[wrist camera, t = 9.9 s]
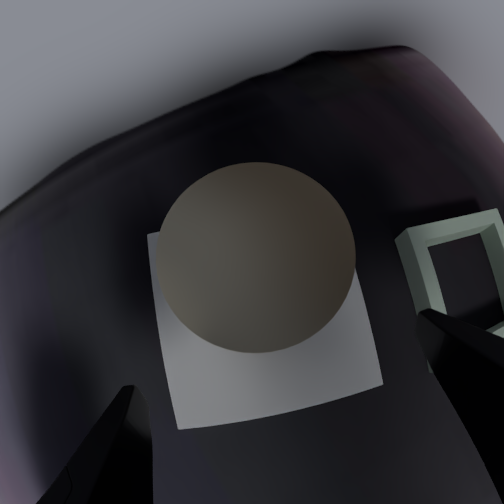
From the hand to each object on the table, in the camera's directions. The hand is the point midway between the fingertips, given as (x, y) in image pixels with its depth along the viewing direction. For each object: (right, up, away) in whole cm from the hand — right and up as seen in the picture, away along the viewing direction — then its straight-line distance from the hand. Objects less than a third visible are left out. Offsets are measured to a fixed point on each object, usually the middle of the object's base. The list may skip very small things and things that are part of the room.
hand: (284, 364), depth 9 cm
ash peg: (-1, 0, +9) cm, 9 cm away
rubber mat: (0, 0, +9) cm, 9 cm away
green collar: (+14, +1, +9) cm, 16 cm away
